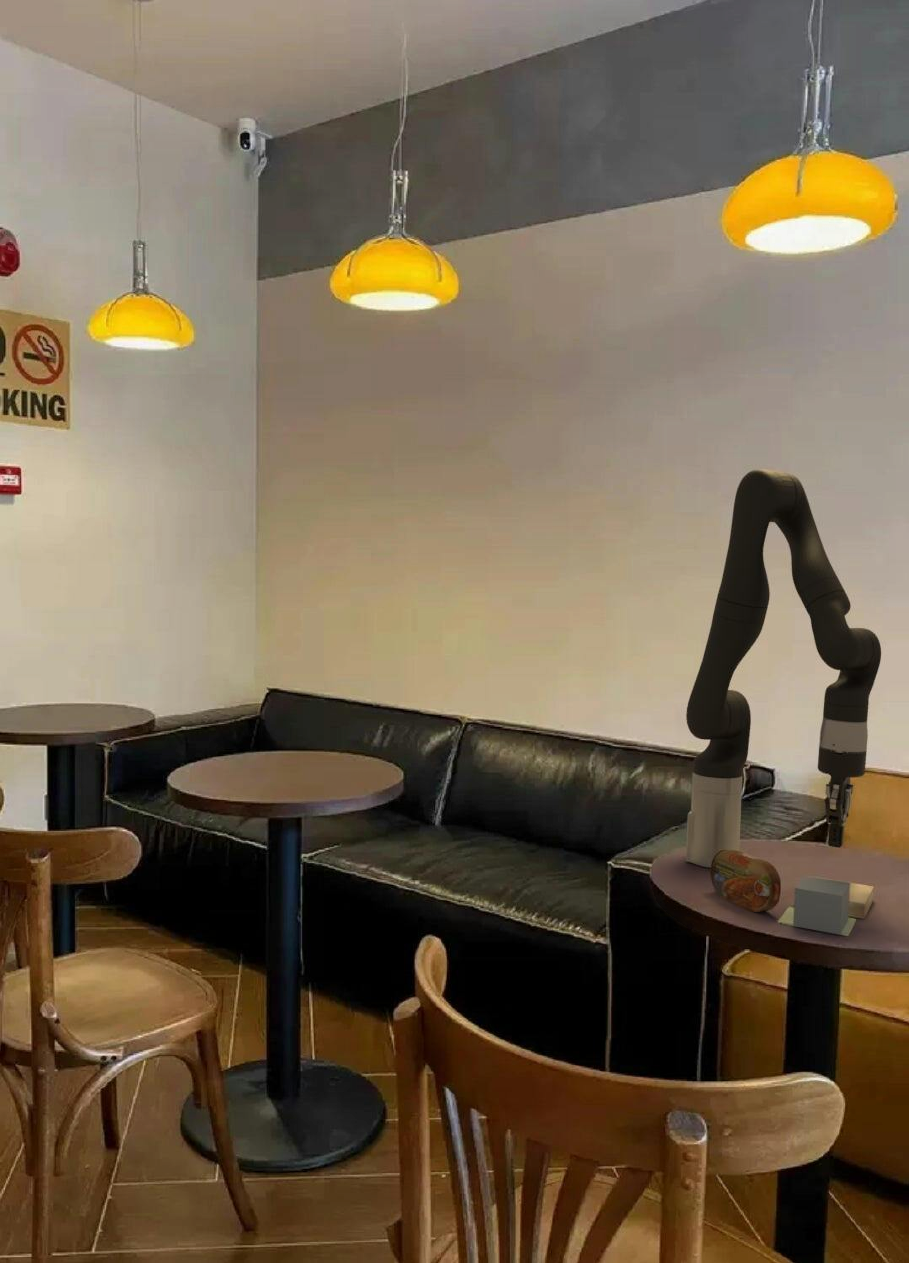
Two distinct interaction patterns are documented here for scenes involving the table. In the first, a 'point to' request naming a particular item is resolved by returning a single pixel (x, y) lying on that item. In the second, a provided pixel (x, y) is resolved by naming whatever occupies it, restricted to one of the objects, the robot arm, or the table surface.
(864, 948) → the table surface
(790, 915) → the mat
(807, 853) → the table surface
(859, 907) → the block
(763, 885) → the tin
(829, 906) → the box
